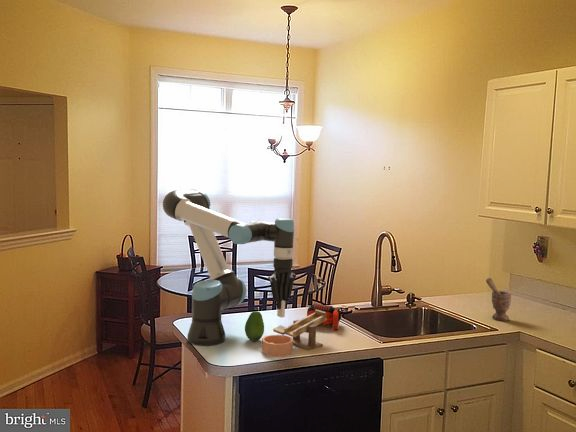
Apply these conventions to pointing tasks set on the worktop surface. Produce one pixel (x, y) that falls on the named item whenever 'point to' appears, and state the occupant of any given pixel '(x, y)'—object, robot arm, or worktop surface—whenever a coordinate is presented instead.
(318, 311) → the lever
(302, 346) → the stand
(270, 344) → the terracotta bowl
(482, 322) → the worktop surface
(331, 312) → the power drill
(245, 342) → the worktop surface
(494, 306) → the mortar and pestle
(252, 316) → the fruit
